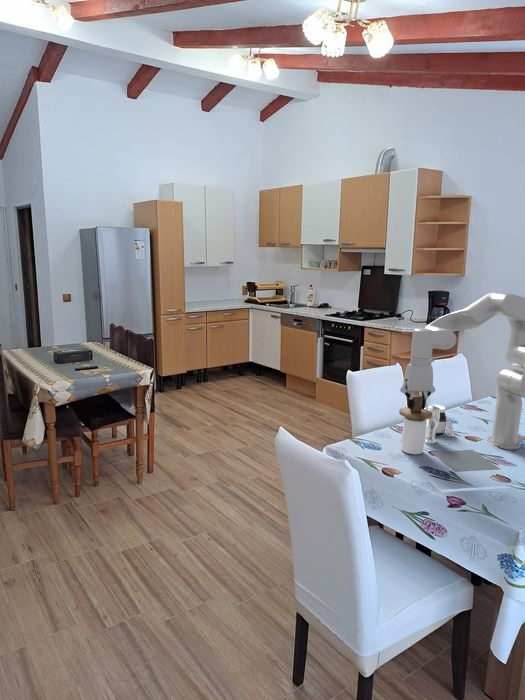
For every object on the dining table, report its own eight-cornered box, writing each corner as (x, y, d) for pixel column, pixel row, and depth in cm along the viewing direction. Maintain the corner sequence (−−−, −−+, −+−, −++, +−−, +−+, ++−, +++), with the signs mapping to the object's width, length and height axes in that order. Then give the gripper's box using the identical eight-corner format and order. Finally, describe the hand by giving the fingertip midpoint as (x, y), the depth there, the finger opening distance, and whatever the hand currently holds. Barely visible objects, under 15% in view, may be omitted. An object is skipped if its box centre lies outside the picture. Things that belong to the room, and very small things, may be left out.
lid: (422, 409, 204) (424, 391, 202) (438, 419, 192) (440, 401, 191) (393, 409, 201) (395, 392, 200) (408, 420, 190) (409, 401, 188)
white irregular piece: (422, 428, 228) (424, 403, 226) (448, 429, 228) (450, 404, 226) (429, 438, 216) (432, 411, 214) (457, 439, 216) (460, 413, 214)
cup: (396, 450, 202) (399, 415, 200) (414, 448, 205) (418, 413, 202) (408, 458, 195) (412, 422, 192) (427, 456, 197) (431, 421, 194)
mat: (472, 451, 203) (472, 449, 203) (500, 471, 186) (500, 469, 186) (429, 453, 200) (430, 451, 200) (454, 473, 183) (455, 471, 183)
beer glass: (437, 446, 208) (441, 410, 205) (419, 444, 209) (423, 409, 206) (435, 440, 214) (439, 405, 211) (418, 438, 216) (421, 404, 213)
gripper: (436, 359, 198) (431, 405, 201) (395, 359, 195) (391, 406, 198) (446, 363, 191) (441, 411, 194) (404, 363, 187) (399, 412, 191)
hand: (416, 408), depth 196 cm, fingers closed on lid, 4 cm apart
